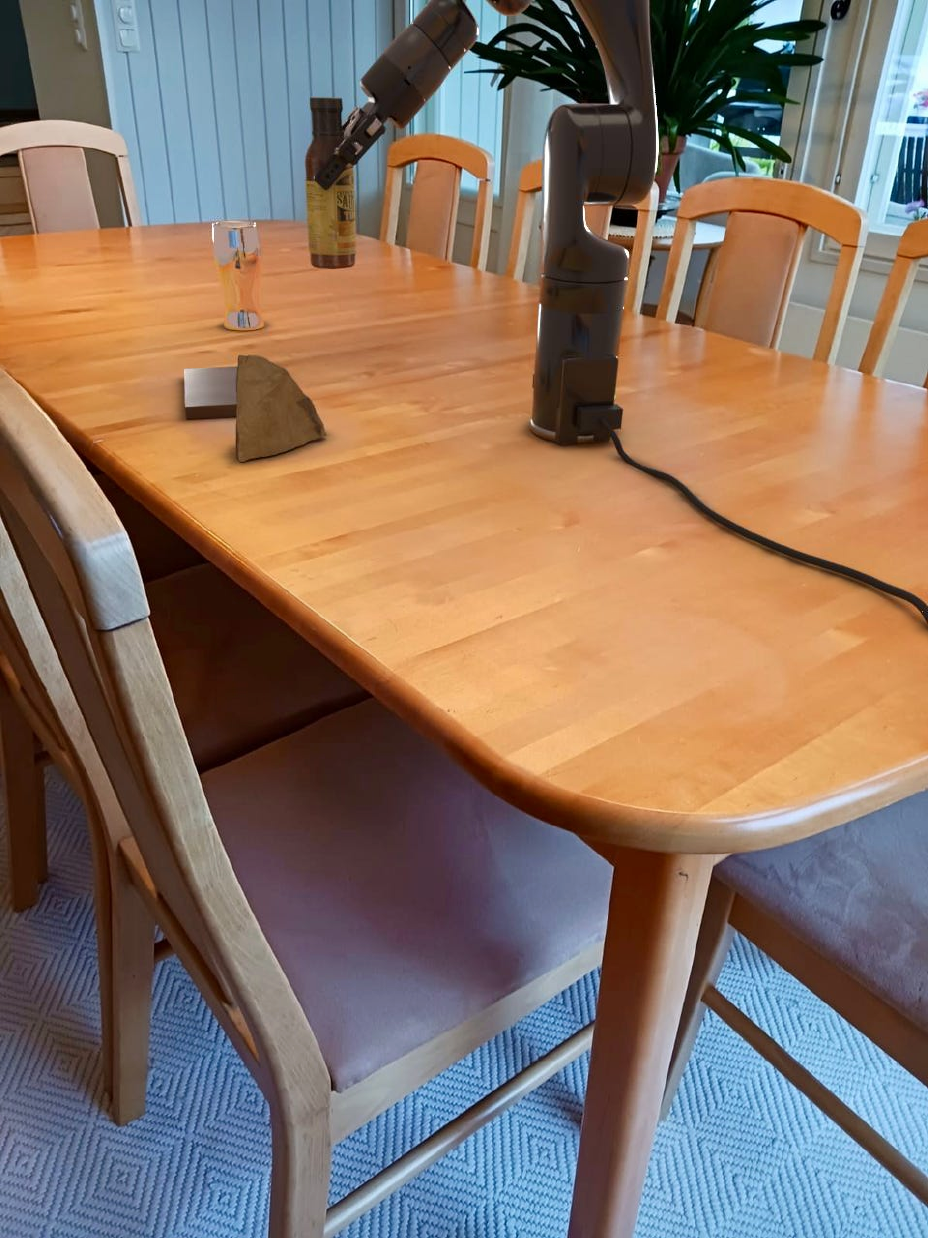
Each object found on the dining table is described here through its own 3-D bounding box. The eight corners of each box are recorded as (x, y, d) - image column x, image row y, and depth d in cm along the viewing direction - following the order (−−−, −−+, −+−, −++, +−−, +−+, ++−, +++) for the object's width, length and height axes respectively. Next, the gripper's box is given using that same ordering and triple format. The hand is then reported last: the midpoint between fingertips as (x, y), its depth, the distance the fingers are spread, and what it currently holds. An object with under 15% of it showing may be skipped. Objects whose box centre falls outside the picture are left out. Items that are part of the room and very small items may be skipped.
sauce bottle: (348, 272, 122) (341, 97, 112) (303, 269, 123) (291, 96, 113) (363, 263, 128) (357, 96, 118) (319, 260, 129) (310, 95, 119)
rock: (325, 404, 107) (235, 395, 105) (333, 357, 100) (237, 346, 97) (324, 487, 103) (231, 479, 101) (333, 444, 96) (232, 435, 93)
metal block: (290, 413, 112) (289, 401, 111) (186, 419, 109) (184, 407, 108) (279, 375, 125) (278, 364, 124) (185, 380, 122) (184, 368, 121)
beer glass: (212, 327, 146) (200, 224, 139) (241, 318, 152) (231, 218, 144) (247, 333, 143) (237, 228, 136) (275, 324, 149) (267, 222, 141)
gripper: (374, 52, 121) (288, 154, 124) (394, 50, 109) (299, 163, 112) (415, 99, 125) (330, 197, 128) (439, 103, 113) (345, 211, 116)
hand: (316, 181), depth 120 cm, fingers closed on sauce bottle, 6 cm apart
